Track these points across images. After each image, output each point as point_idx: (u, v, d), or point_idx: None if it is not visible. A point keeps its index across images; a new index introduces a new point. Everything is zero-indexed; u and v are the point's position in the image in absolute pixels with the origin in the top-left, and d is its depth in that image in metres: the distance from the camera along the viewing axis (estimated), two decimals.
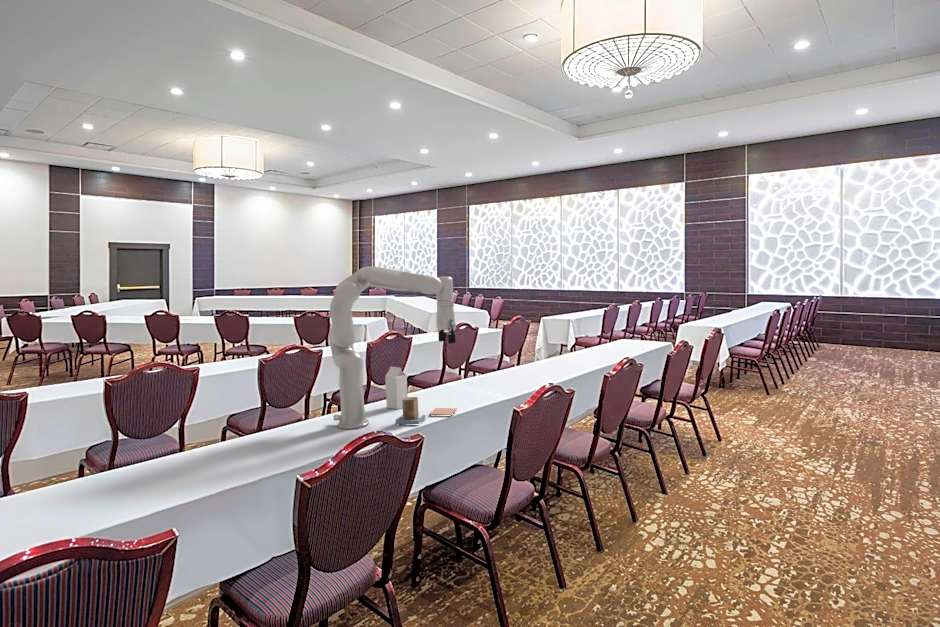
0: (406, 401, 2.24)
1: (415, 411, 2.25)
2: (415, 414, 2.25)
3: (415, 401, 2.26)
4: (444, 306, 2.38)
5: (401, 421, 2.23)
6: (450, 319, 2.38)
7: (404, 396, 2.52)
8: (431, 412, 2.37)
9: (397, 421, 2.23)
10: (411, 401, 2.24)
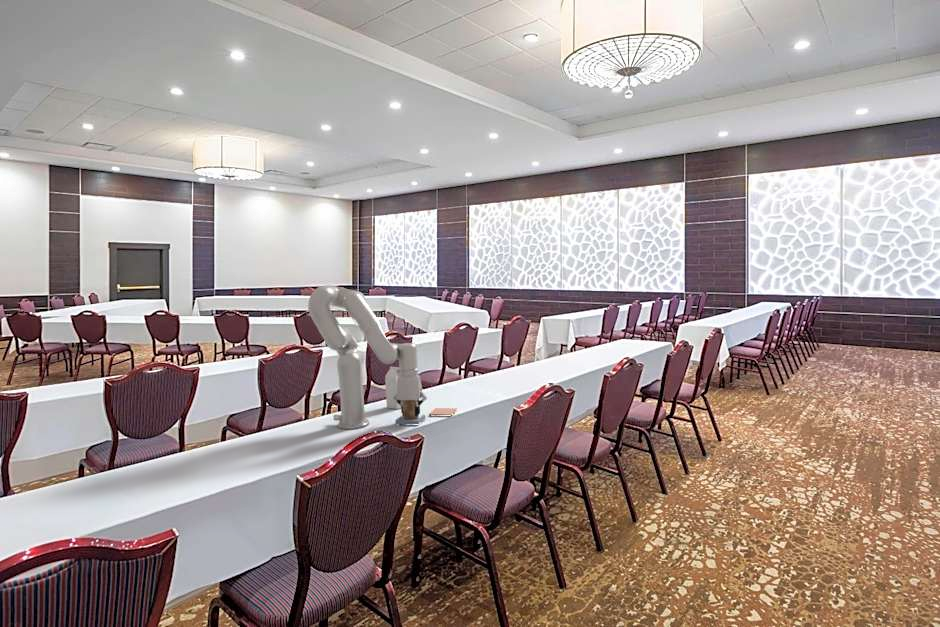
0: (406, 401, 2.24)
1: None
2: None
3: None
4: (414, 375, 2.23)
5: (401, 421, 2.23)
6: (420, 387, 2.25)
7: None
8: (431, 412, 2.37)
9: (397, 421, 2.23)
10: (411, 401, 2.24)
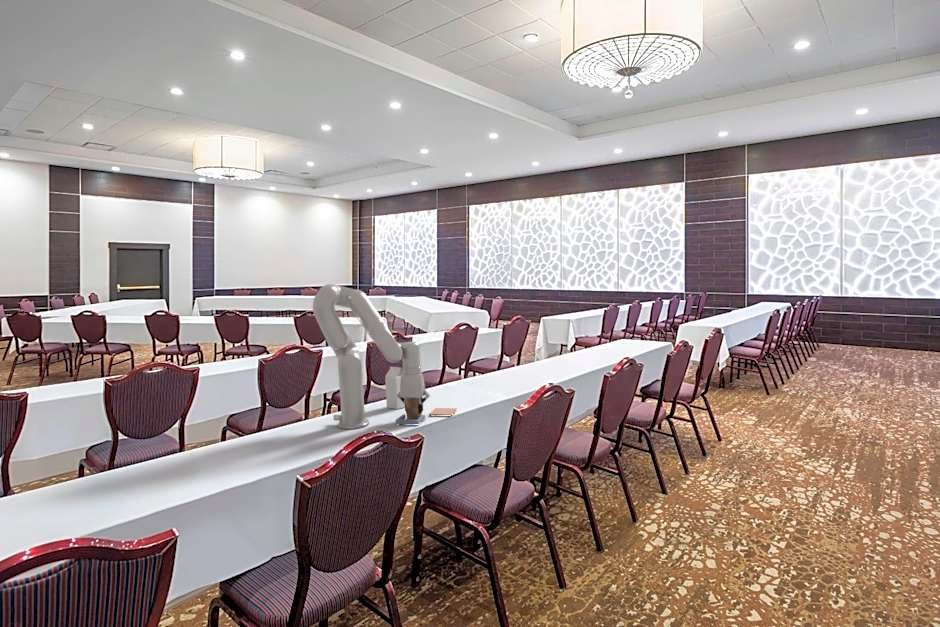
0: (409, 399, 2.28)
1: None
2: None
3: None
4: (417, 373, 2.27)
5: (401, 421, 2.23)
6: (423, 385, 2.29)
7: None
8: (431, 412, 2.37)
9: (397, 421, 2.23)
10: (414, 399, 2.28)
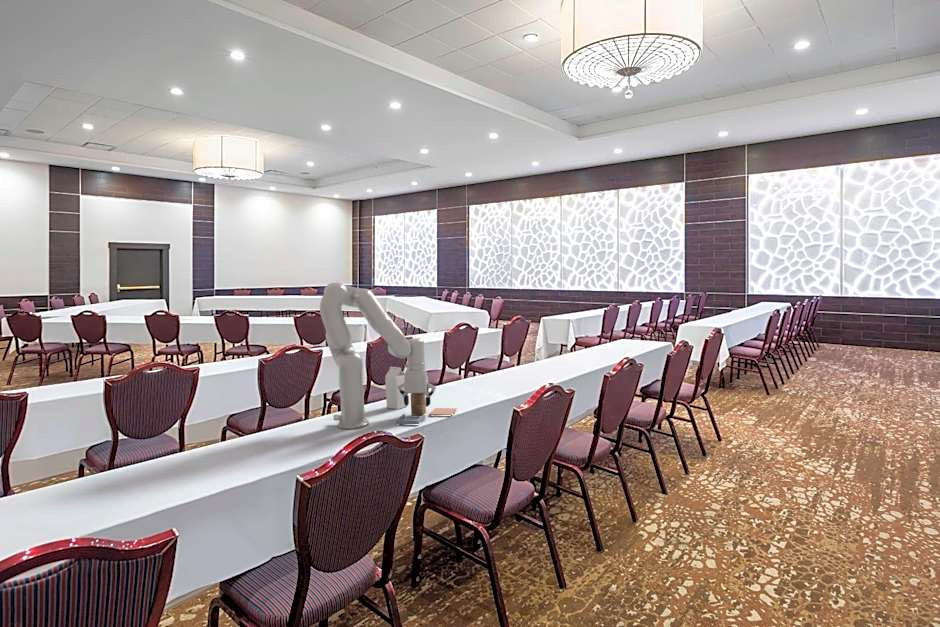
0: (414, 395, 2.34)
1: (422, 405, 2.35)
2: (423, 408, 2.35)
3: (423, 395, 2.35)
4: (421, 369, 2.33)
5: (401, 421, 2.23)
6: (427, 381, 2.34)
7: None
8: (431, 412, 2.37)
9: (397, 421, 2.23)
10: (419, 395, 2.33)
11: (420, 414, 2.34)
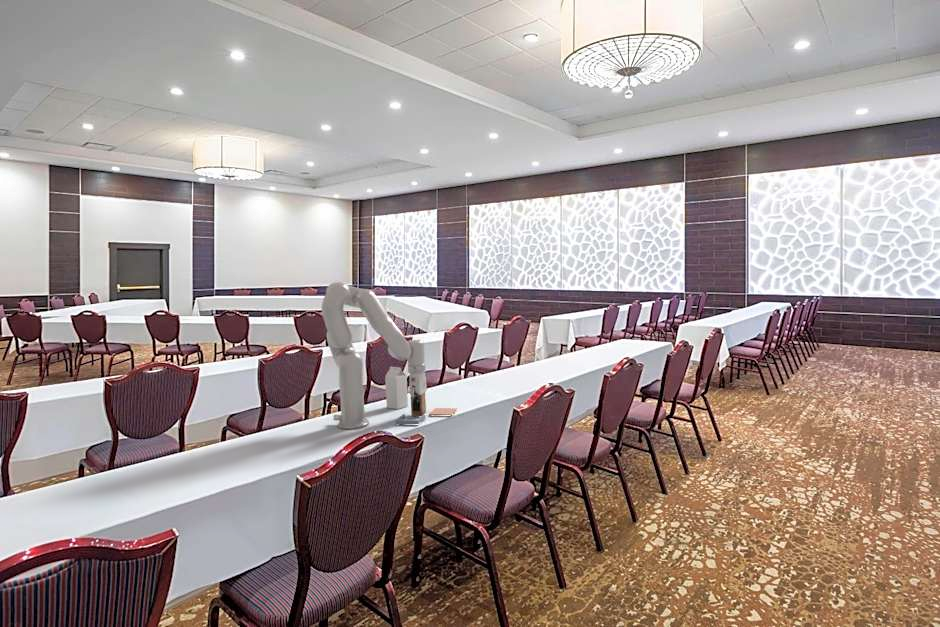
0: None
1: (422, 405, 2.35)
2: (423, 408, 2.35)
3: (423, 395, 2.35)
4: None
5: (401, 421, 2.23)
6: None
7: (404, 396, 2.52)
8: (431, 412, 2.37)
9: (397, 421, 2.23)
10: (419, 395, 2.33)
11: (420, 414, 2.34)
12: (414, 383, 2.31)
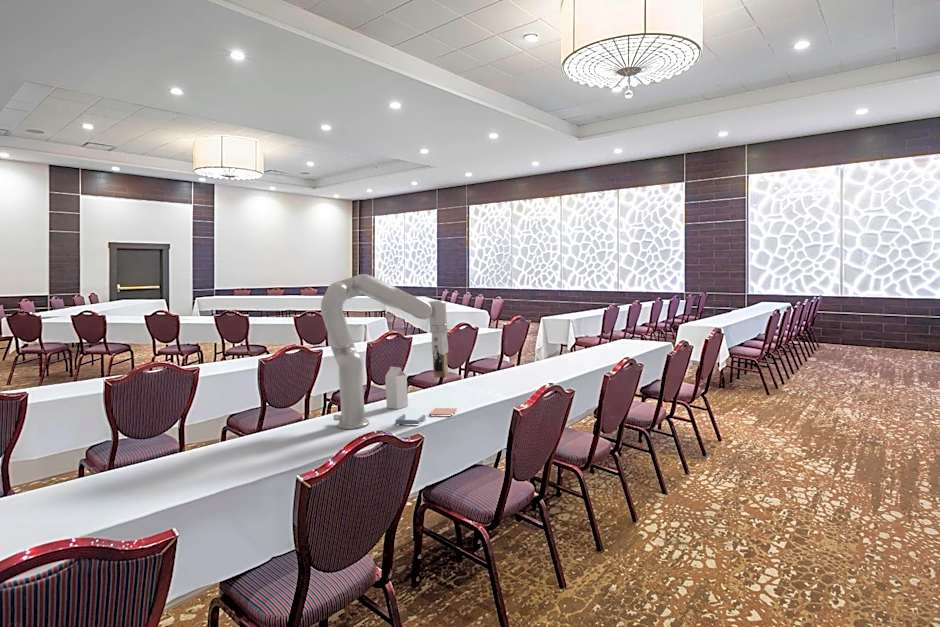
0: None
1: (445, 366, 2.35)
2: (445, 368, 2.35)
3: (445, 356, 2.36)
4: None
5: (401, 421, 2.23)
6: None
7: (404, 396, 2.52)
8: (431, 412, 2.37)
9: (397, 421, 2.23)
10: (441, 355, 2.34)
11: (443, 374, 2.34)
12: (436, 343, 2.31)
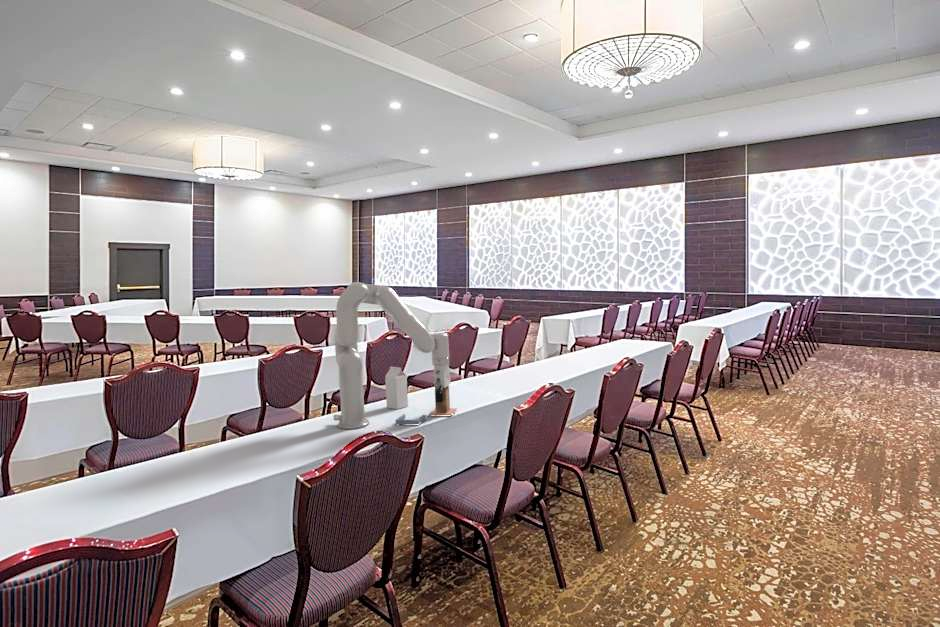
0: None
1: (447, 401, 2.36)
2: (447, 403, 2.36)
3: (447, 391, 2.37)
4: None
5: (401, 421, 2.23)
6: None
7: (404, 396, 2.52)
8: (431, 412, 2.37)
9: (397, 421, 2.23)
10: (443, 391, 2.35)
11: (444, 410, 2.36)
12: (439, 376, 2.32)
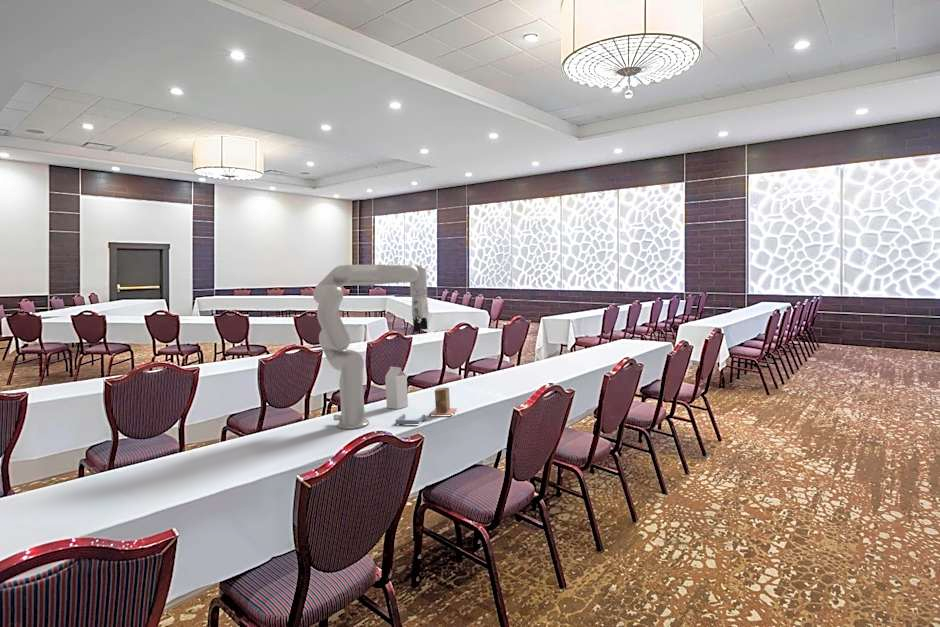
0: (438, 391, 2.35)
1: (447, 401, 2.36)
2: (447, 403, 2.36)
3: (447, 391, 2.37)
4: None
5: (401, 421, 2.23)
6: None
7: (404, 396, 2.52)
8: (431, 412, 2.37)
9: (397, 421, 2.23)
10: (443, 391, 2.35)
11: (444, 410, 2.36)
12: (416, 306, 2.39)
